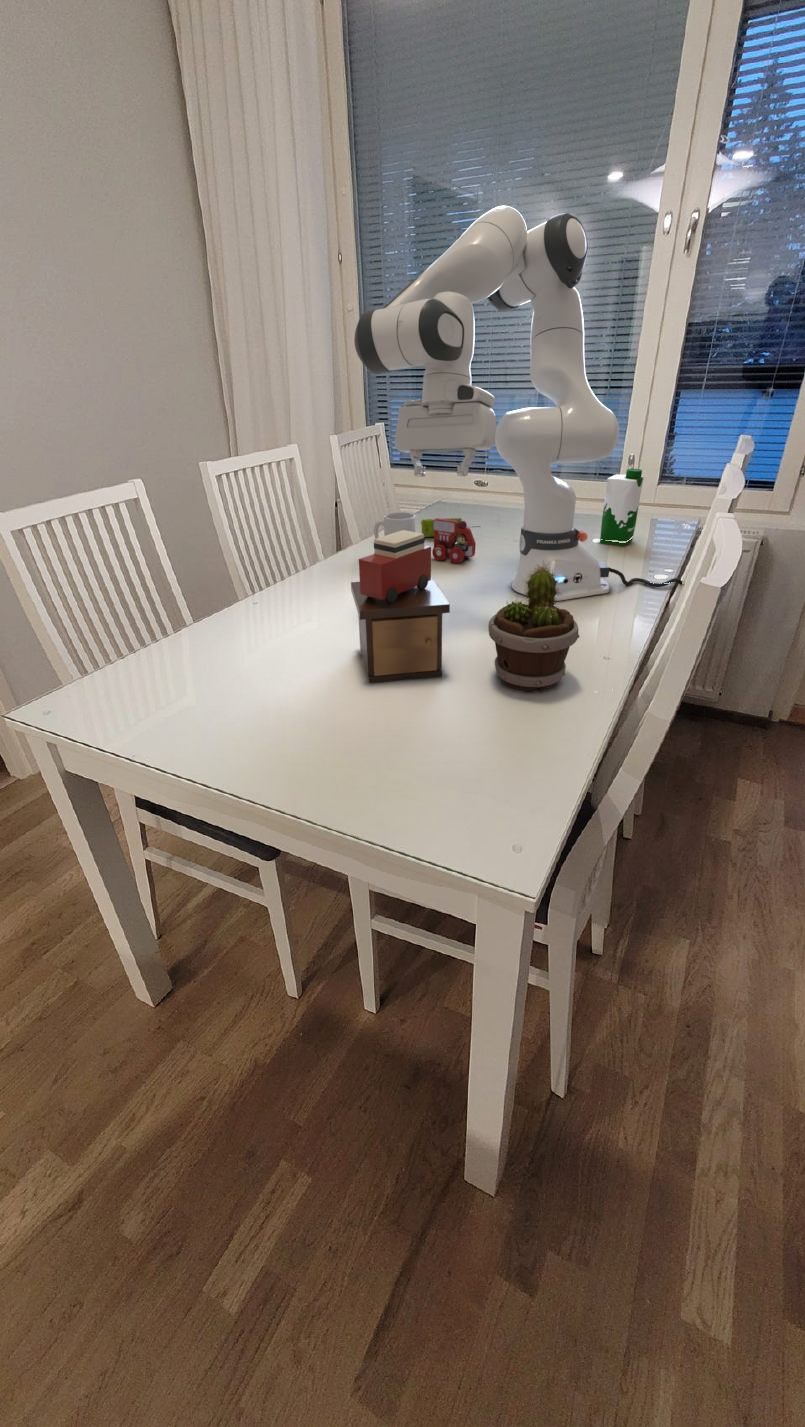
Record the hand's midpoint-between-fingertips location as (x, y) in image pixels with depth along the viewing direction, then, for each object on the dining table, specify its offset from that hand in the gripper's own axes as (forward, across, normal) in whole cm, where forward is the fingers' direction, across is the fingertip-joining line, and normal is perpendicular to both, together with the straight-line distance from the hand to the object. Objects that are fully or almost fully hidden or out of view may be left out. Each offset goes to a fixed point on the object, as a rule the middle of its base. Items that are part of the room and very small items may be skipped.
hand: (440, 476), depth 122 cm
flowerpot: (+35, +25, -6) cm, 43 cm away
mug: (+15, -38, +41) cm, 58 cm away
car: (+21, +3, -17) cm, 28 cm away
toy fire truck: (+15, -22, +46) cm, 53 cm away
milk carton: (+8, +10, +84) cm, 85 cm away
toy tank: (+9, -33, +64) cm, 73 cm away
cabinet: (+34, +2, -13) cm, 37 cm away
